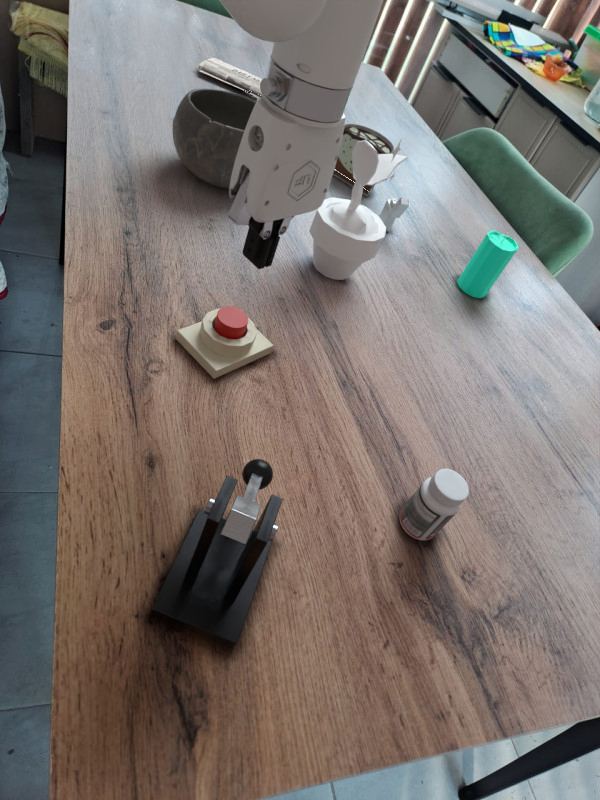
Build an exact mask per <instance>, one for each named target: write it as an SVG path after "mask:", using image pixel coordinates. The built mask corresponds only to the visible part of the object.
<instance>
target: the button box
mask: <svg viewBox="0 0 600 800" xmlns="http://www.w3.org/2000/svg"><path fill="white" fill-rule="evenodd" d="M221 308H222V307H219V308H215V309H213V310H210V311H207V312H206V314H205V315H204V316H203V318H202V320H201V321H199V322H196V323H192V324H191V325H187V326H185V327H182V328H179V329H177V330H176V334H175V340H176V341H177V342H178V343H179V344H180V345H181V346H182V347H183V348H184V349H185V350H186V351H187V352H188V354H190V355H191V356H192V358H193V359H194V360H195V361H196V362H197V363H198V364H199V365H200V366H201V367H202V368H203V369H204V370H205V371H206V373H207V374H209V375H210V377H211V378H213V379H214V380H215V379H217V378H219V377H222V376H223V375H226V374H228V373H230V372H232V371H234V370H237V369H239V368H241V367H243V366H246V365H248V364H250V363H253V362H254V361H257V360H259V359H261V358H264V357H265V356H268V355H270V354H272V351H273V349H274V344H273V343H271V341H270V340H269V339H268V338H267V337H266V336H265V335H263V334H262V333H261V332H260V331H259V329H258V328H256V325H255V322H254V321H252V320H251V319H250V318H249V317H248V324H247V327H246V330H245V333H244V335H243V336H242V337H241V338H239V339H227V338H225V337H222V336H220V335H219V334H218V333H217V332H216V331H215V329H214V323H215V320H216V316H217V312H218V310H219V309H221Z"/></svg>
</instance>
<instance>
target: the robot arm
mask: <svg viewBox="0 0 600 800" xmlns="http://www.w3.org/2000/svg"><path fill="white" fill-rule="evenodd" d="M218 1H219V2H220V3H221V5H222V6H223V8H224V9H225V10H226V12H227V13H228V14H229V16H230V17H231V18H232V19H233V21H234V22H235V23H236V24H237V25H238V26H239V27H240V28H241V29H242V31H244V32H246V33H248V34H249V35H250V36H251V37H254V38H256V39H259V40H261V41H264V42H270V43H273V45H272V48H271V53H270V56H269V61H268V65H267V68H266V69H267V70H266V72H265V77H264V78H261V79H262V81H261V83H260V90H261V97H260V98H256V100H255V101H256V104H255V106H254V108H253V110H252V113H251V115H250V118H249V120H248V123H247V125H246V128H245V131H244V134H243V137H242V140H241V143H240V146H239V149H238V153H237V156H236V159H235V163H234V167H233V171H232V175H231V180H230V187H229V188H228V196H229V199H231V200H232V201H233V202H232V204H231V206H230V209H229V211H228V213H227V217H228V218H229V219H230V220H231V221H232V222H233V223H234V224H235V225H237V226H248V229H247V233H246V237H245V240H244V245H243V247H242V255H243V256H244V257H245V258H246V259H247V260H248V261H249V262H250V263H251V264H252V265H254V267H255V268H256V269H258V270H262V269H264V268H268V267H271V266H272V265H273V262H274V258H275V255H276V252H277V249H278V246H279V243H280V239H281V236H283V235H284V234H286V232H287V231H288V227H289V226H290V224H291V221H292V219H294V218H295V216H299V215H303V214H308V213H310V212H314V211H317V209H318V208H319V207H320V206H321V205H322V204H323V202H324V200H325V199H326V196H327V194H328V191H329V188H330V185H331V182H332V179H333V176H334V175H333V173H334V169H335V166H336V162H337V159H338V155H339V151H340V147H341V142H342V137H343V132H344V125H345V124H346V114H345V111H346V108H347V105H348V103H349V99H350V97H351V94H352V91H353V88H354V85H355V82H356V80H357V77H358V75H359V71H360V68H361V66H362V63H363V60H364V58H365V57H364V56H365V54H366V51H367V49H368V46H369V43H370V40H371V37H372V35H373V32H374V28H375V25H376V23H377V20H378V17H379V15H380V12H381V8H382V6H383V3H384V0H218Z"/></svg>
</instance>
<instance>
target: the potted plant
mask: <svg viewBox="0 0 600 800" xmlns="http://www.w3.org/2000/svg"><path fill="white" fill-rule="evenodd" d="M401 143H402V139H400V140H399V143H398V144H397V145H396V147H395V148H394V151H392V152H391V153H393V154H379V155H378V153H377V151H376V149H375V148H374V147H373V146H372V145H371V144H370V143H369V142H368V141H367V140H362V141H359V142H357V143H356V145H355V146H354V148H353V150H352V166H353V171H354V172H353V178H354V179H355V180H356V182H355V184H354V187H352V190H351V197H350V198H351V200H350V199H347V198H340V197H333V196H332V197H328V198H325V199H324V202H323V204H322V205H321V206H320V207H319V208H318V209H316V210H315V215H314V217H313V220H312V222H311V224H310V227H309V230H308V231H309V234H310V235H311V238H312V241H313V242H312V244H313V245H312V263H313V266H314V268H315V270H316V271H317V272H319V273H320V274H321V275H323V277H326V278H328V279H331V280H336V281H337V280H338V281H339V280H341V281H344V280H346V279H348V278H349V277H351V275H353V274H354V273H355V272H356V271H357V269H359V268H360V267H361V266H362V265H363V264H364V263H366V262H368V261H370V260H372V259H374V258H376V256H377V254H378V251H379V250H380V248H381V245H382V244H383V242H384V239H385V237H386V232H387V231H386V226H385V225H384V223H383V222H382V220H381V219H380V217H379V216H380V215H378V214H377V213H375V212H374V211H372V209H370V208H368V207H367V206H365V205H363V204H361V203H362V197H363V194H362V193H363V186H365V185H371V186H372V185H375V186H376V185H377V184H380V183H382V182H385V181H387V180H388V179H390V180H389V181H390V182H389V183H391V182H392V180H393V179H394V177H395V176H396V175H395V172H396V171H395V169H396V168H397V166H399V165H400V164H401V163H403V162H404V161H406V160H407V159H408V155H407V156H406V155H402V154H398V153H399V152H400V151H401V150H402V149H401V148H400V145H401Z"/></svg>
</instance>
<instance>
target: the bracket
mask: <svg viewBox="0 0 600 800" xmlns="http://www.w3.org/2000/svg"><path fill="white" fill-rule="evenodd" d="M238 481H239V480H238V479H237V478H234V477H232V476H230V475H225V478H224V480H223V482H222V485H221V486H220V489H219V491H218V493H217V496H216V498H215V497H212V496H210V498H209V499H208V501H207V504H206V505H205V509H202V508H198V511H197V512H196V515H195V517H194V519H193V521H192V523H191V525H190V528H189V530H188V532H187V533H186V536H185V538H184V539H183V542H182V544H181V546H180V549H179V551H178V553H177V555H176V557H175V559H174V561H173V563H172V565H171V567H170V570H169V572H168V574H167V575H166V578H165V580H164V582H163V584H162V586H161V588H160V591H159V593H158V594H157V597H156V599H155V601H154V603H153V604H152V605H153V606H152V608H151V610H150V615H151V616H153V617H156V618H158V619H161V620H164V621H165V622H168V623H171V624H173V625H176V626H178V627H181V628H183V629H186V630H188V631H191V632H193V633H196V634H197V635H200V636H203V637H205V638H208V639H211V640H213V641H215V642H218V643H220V644H223V645H224V646H228V647H229V648H233V649H235V648H236V646H237V645H238V643H239V639H240V636H241V634H242V631H243V628H244V625H245V622H246V621H247V617H248V613H249V611H250V607H251V605H252V602H253V599H254V596H255V593H256V590H257V588H258V584H259V581H260V578H261V576H262V572H263V570H264V567H265V563H266V561H267V558H268V555H269V552H270V549H271V546H272V543H273V541H274V539H275V536H276V534H277V532H278V530H279V524H278V523H277V524H276V520H277V517H278V515H279V512H280V509H281V506H282V503H283V499H284V498H282V497H280V496H278V495H275V494H273V493H271V495H270V496H269V499H268V501H267V503H266V504H265V506H264V509H263V510H262V513H261V515H260V517H258V519H257V521H256V523H255V525H254V527H253V530H252V532H251V534H250V536H249V539H248V541H247V543H246V544H243V543H241V542H238V541H236V540H234V539H231V538H229V537H226V536H224V535H221V531H222V529H223V526H224V524H225V522H226V519H227V518H223V517H224V515H225V512H226V510H227V507H228V505H229V503H230V500H231V498H232V496H233V493H234V490H235V488H236V486H237V483H238Z"/></svg>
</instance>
